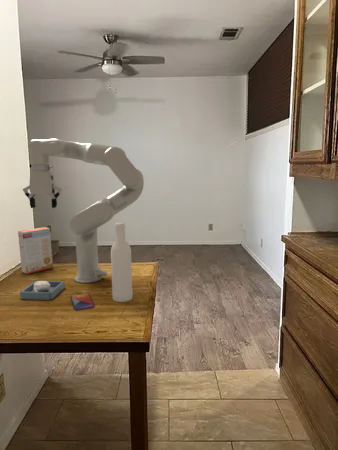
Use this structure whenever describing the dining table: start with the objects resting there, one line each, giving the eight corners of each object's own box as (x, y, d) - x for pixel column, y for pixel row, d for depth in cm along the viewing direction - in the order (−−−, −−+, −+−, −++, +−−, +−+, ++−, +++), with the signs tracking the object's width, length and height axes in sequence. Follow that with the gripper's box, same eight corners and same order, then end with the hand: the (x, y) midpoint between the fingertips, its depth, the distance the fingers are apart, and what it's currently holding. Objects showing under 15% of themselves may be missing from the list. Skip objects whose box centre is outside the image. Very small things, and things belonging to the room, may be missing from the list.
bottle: (113, 295, 143) (110, 221, 138) (132, 294, 144) (130, 221, 138) (111, 302, 135) (108, 225, 130) (132, 301, 136) (130, 224, 131)
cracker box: (47, 266, 185) (44, 226, 181) (53, 268, 181) (50, 228, 177) (21, 272, 175) (17, 230, 172) (26, 274, 171) (22, 232, 167)
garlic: (52, 291, 142) (53, 282, 143) (35, 292, 139) (35, 282, 139) (48, 289, 149) (48, 280, 149) (31, 289, 146) (31, 280, 146)
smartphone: (74, 312, 128) (74, 309, 128) (70, 297, 142) (70, 294, 142) (95, 309, 131) (95, 306, 131) (89, 294, 145) (88, 292, 144)
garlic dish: (65, 287, 152) (64, 281, 152) (51, 299, 139) (51, 293, 138) (35, 286, 154) (35, 280, 153) (19, 299, 140) (19, 292, 139)
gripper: (63, 168, 157) (65, 206, 160) (25, 168, 159) (28, 206, 162) (56, 168, 150) (59, 208, 153) (17, 169, 152) (20, 208, 155)
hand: (43, 207), depth 157 cm, fingers open, 9 cm apart
